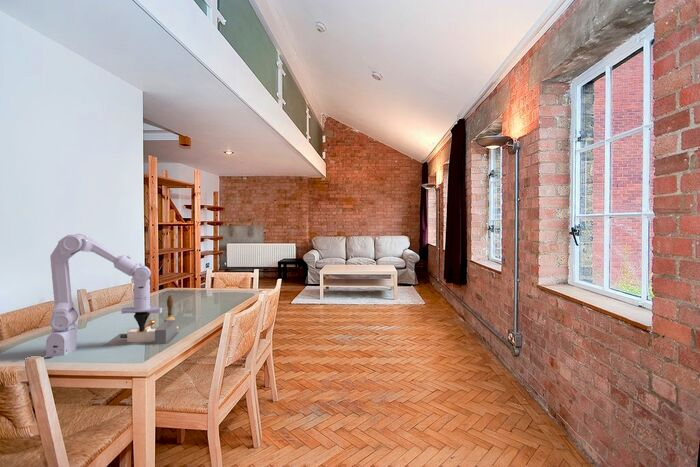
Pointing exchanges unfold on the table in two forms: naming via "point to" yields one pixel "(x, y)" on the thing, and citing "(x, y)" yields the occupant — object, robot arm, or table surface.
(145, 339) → the plug
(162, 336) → the grey base plate
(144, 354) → the table surface
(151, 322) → the ball-topped lever
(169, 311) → the hand bell
